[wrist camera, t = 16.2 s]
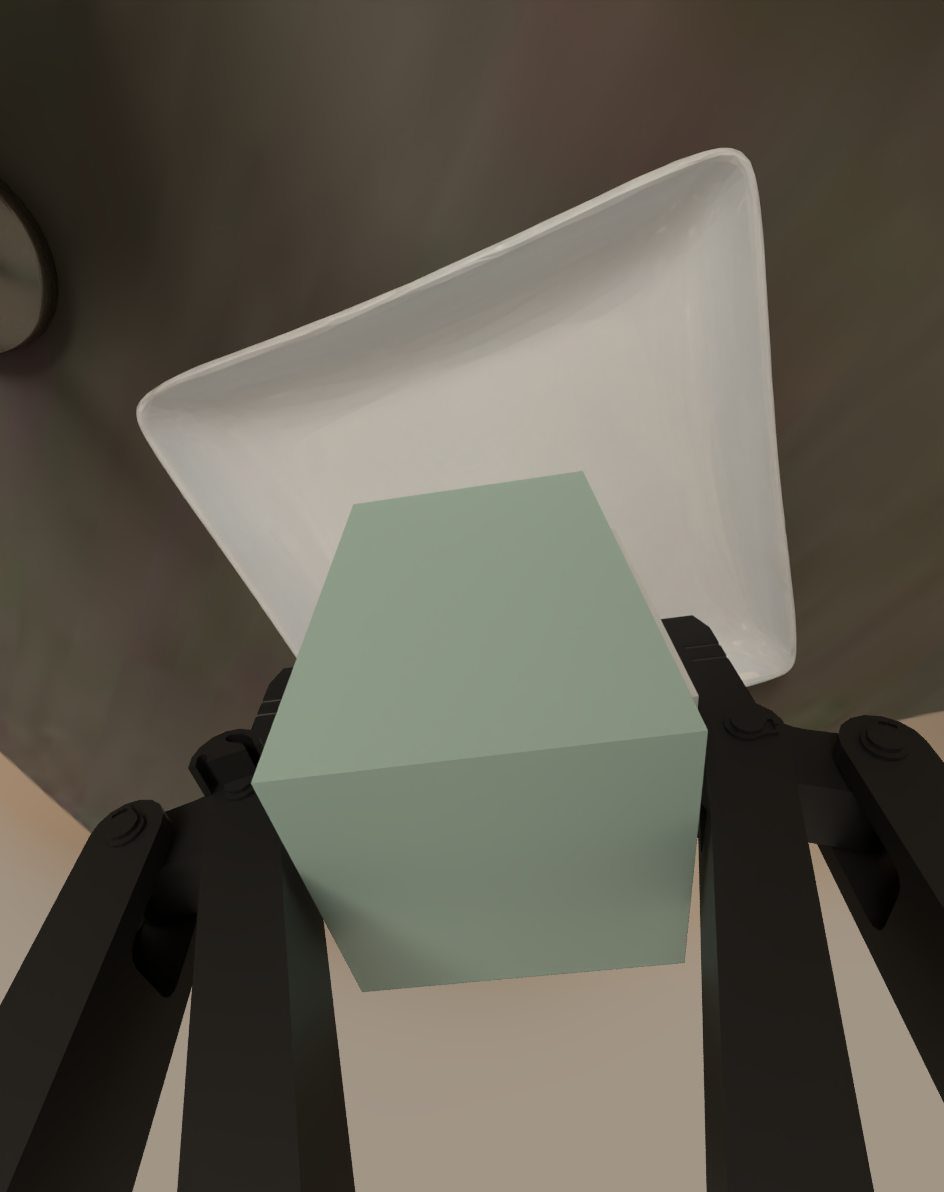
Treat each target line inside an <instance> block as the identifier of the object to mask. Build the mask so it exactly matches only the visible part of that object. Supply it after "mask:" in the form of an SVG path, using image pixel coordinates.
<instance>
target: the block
mask: <svg viewBox="0 0 944 1192" xmlns="http://www.w3.org/2000/svg"><path fill="white" fill-rule="evenodd" d="M707 735H708V730H707V728H706V725H705V723H704V721H703V719H702V717H701V715H700V713H699V711H698V709H697V707H696V705H695V703H694V701H693V699H692V696H691V694H690V692H689V690H688V688H687V686H686V684H685V682H684V680H683V678H682V676H681V674H680V672H679V669H678V667H677V665H676V663H675V661H674V659H673V657H672V655H671V653H670V651H669V649H668V647H667V645H666V642H665V640H664V638H663V636H662V634H661V632H660V630H659V628H658V626H657V624H656V622H655V620H654V618H653V615H652V613H651V611H650V609H649V607H648V605H647V603H646V601H645V599H644V597H643V595H642V593H641V591H640V588H639V586H638V584H637V582H636V580H635V578H634V576H633V574H632V572H631V570H630V568H629V566H628V564H627V562H626V559H625V557H624V555H623V553H622V551H621V549H620V547H619V545H618V543H617V541H616V539H615V537H614V535H613V532H612V530H611V528H610V526H609V524H608V522H607V520H606V518H605V516H604V514H603V512H602V510H601V508H600V505H599V503H598V501H597V499H596V497H595V495H594V493H593V491H592V489H591V487H590V485H589V483H588V481H587V478H586V476H585V474H584V472H583V471H578V472H571V473H565V474H558V475H551V476H544V477H537V478H530V479H523V480H517V481H510V482H503V483H496V484H489V485H482V486H475V487H468V488H462V489H455V490H448V491H441V492H434V493H427V494H420V495H414V496H407V497H400V498H393V499H386V500H379V501H372V502H366V503H359V504H353V507H352V509H351V512H350V515H349V518H348V520H347V523H346V526H345V528H344V531H343V534H342V537H341V539H340V542H339V545H338V548H337V550H336V553H335V556H334V558H333V561H332V564H331V567H330V569H329V572H328V575H327V578H326V580H325V583H324V586H323V588H322V591H321V594H320V597H319V599H318V602H317V605H316V607H315V610H314V613H313V616H312V618H311V621H310V624H309V627H308V629H307V632H306V635H305V637H304V640H303V643H302V646H301V648H300V651H299V654H298V656H297V659H296V662H295V665H294V667H293V670H292V673H291V676H290V678H289V681H288V684H287V686H286V689H285V692H284V695H283V697H282V700H281V703H280V705H279V708H278V711H277V714H276V716H275V719H274V722H273V725H272V727H271V730H270V733H269V735H268V738H267V741H266V744H265V746H264V749H263V752H262V755H261V757H260V760H259V763H258V765H257V768H256V771H255V774H254V776H253V779H252V782H251V784H252V786H253V788H254V790H255V792H256V794H257V796H258V798H259V799H260V801H261V803H262V805H263V807H264V809H265V811H266V813H267V814H268V816H269V818H270V820H271V822H272V824H273V826H274V828H275V829H276V831H277V833H278V835H279V837H280V839H281V841H282V843H283V844H284V846H285V848H286V850H287V852H288V854H289V856H290V858H291V859H292V861H293V863H294V865H295V867H296V869H297V871H298V873H299V874H300V876H301V878H302V880H303V882H304V884H305V886H306V888H307V889H308V891H309V893H310V895H311V897H312V899H313V901H314V903H315V904H316V906H317V908H318V910H319V912H320V914H321V916H322V918H323V919H324V921H325V923H326V925H327V927H328V929H329V931H330V932H331V934H332V936H333V938H334V940H335V942H336V944H337V946H338V948H339V949H340V951H341V953H342V955H343V957H344V959H345V961H346V963H347V964H348V966H349V968H350V970H351V972H352V974H353V976H354V977H355V979H356V981H357V983H358V985H359V987H360V989H361V991H362V992H368V991H379V990H390V989H401V988H412V987H423V986H434V985H446V984H456V983H467V982H478V981H490V980H501V979H512V978H523V977H533V976H544V975H556V974H567V973H577V972H589V971H600V970H611V969H622V968H633V967H644V966H656V965H666V964H677V963H684V962H685V952H686V943H687V933H688V922H689V913H690V903H691V893H692V883H693V873H694V863H695V853H696V844H697V834H698V824H699V814H700V804H701V794H702V784H703V774H704V765H705V755H706V745H707Z"/></svg>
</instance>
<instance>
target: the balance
mask: <svg viewBox="0 0 944 1192" xmlns="http://www.w3.org/2000/svg"><path fill="white" fill-rule="evenodd" d="M57 296H58V283H57V275H56V269H55V265H54V261H53V258H52V254H51V252H50V249H49V247H48V244H47V242H46V239H45V237H44V236H43V234H42V232H41V230H40V228H39V226H38V224H37V223H36V221H35V220H34V218H33V217H32V215H31V214H30V212H29V211H28V210H27V208H26V207H25V206H24V204H23V203H22V202H21V201H20V199H19V198H18V197H17V196H16V195H15V194H14V193H13V192H12V191H11V190H10V188H9V187H8V186H6V185H5V184H4V183H3V182H2V181H1V180H0V353H2V352H5V351H9V350H12V349H15V348H18V347H22V346H24V345H26V344H29V343H31V342H32V341H34V340H35V339H37V338H38V337H39V336H40V335H41V334H42V333H43V332H44V331H45V330H46V328H47V327H48V325H49V324H50V322H51V320H52V318H53V315H54V313H55V309H56V305H57Z"/></svg>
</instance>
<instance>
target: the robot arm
mask: <svg viewBox="0 0 944 1192" xmlns="http://www.w3.org/2000/svg"><path fill="white" fill-rule="evenodd" d="M611 530H612V532H613V535H614V537H615V539H616V541H617V543H618V545H619V547H620V549H621V551H622V553H623V555H624V557H625V559H626V562H627V564H628V566H629V568H630V570H631V572H632V574H633V576H634V578H635V580H636V582H637V584H638V586H639V588H640V591H641V593H642V595H643V597H644V599H645V601H646V603H647V605H648V607H649V609H650V611H651V613H652V615H653V618H654V620H655V622H656V624H657V626H658V628H659V630H660V632H661V634H662V636H663V638H664V640H665V642H666V645H667V647H668V649H669V651H670V653H671V655H672V657H673V659H674V661H675V663H676V665H677V667H678V669H679V672H680V674H681V676H682V678H683V680H684V682H685V684H686V686H687V688H688V690H689V692H690V694H691V696H692V699H693V701H694V703H695V705H696V707H697V709H698V711H699V713H700V715H701V717H702V719H703V721H704V723H705V725H706V728H707V730H708V735H707V745H706V755H705V765H704V774H703V784H702V794H701V804H700V814H699V824H698V834H697V838H698V841H699V882H700V883H699V884H700V927H701V967H702V968H701V970H702V1007H703V1008H702V1011H703V1054H704V1091H705V1092H704V1095H705V1096H704V1097H705V1135H706V1136H705V1140H706V1183H707V1192H874V1189H873V1183H872V1178H871V1173H870V1168H869V1163H868V1157H867V1152H866V1146H865V1141H864V1136H863V1131H862V1125H861V1120H860V1115H859V1109H858V1104H857V1099H856V1093H855V1088H854V1083H853V1077H852V1073H851V1067H850V1062H849V1056H848V1051H847V1045H846V1040H845V1035H844V1029H843V1025H842V1019H841V1014H840V1008H839V1003H838V998H837V993H836V987H835V982H834V976H833V971H832V966H831V960H830V955H829V950H828V945H827V939H826V934H825V929H824V923H823V918H822V913H821V907H820V902H819V897H818V892H817V886H816V881H815V875H814V870H813V865H812V860H811V855H810V849H809V844H808V842H809V843H815V844H817V845H818V847H819V849H820V851H821V853H822V855H823V857H824V859H825V861H826V863H827V865H828V867H829V869H830V871H831V873H832V875H833V877H834V880H835V882H836V884H837V885H838V888H839V889H840V892H841V894H842V896H843V898H844V900H845V902H846V904H847V906H848V908H849V910H850V912H851V914H852V916H853V918H854V920H855V922H856V924H857V926H858V928H859V931H860V933H861V935H862V937H863V939H864V941H865V943H866V945H867V947H868V949H869V951H870V953H871V955H872V957H873V959H874V961H875V963H876V965H877V967H878V969H879V971H880V973H881V976H882V977H883V979H884V981H885V984H886V986H887V988H888V990H889V992H890V994H891V996H892V998H893V1000H894V1002H895V1004H896V1006H897V1008H898V1010H899V1012H900V1014H901V1016H902V1018H903V1020H904V1022H905V1025H906V1027H907V1028H908V1030H909V1032H910V1034H911V1037H912V1039H913V1041H914V1043H915V1045H916V1047H917V1049H918V1051H919V1053H920V1055H921V1057H922V1059H923V1061H924V1063H925V1065H926V1067H927V1069H928V1072H929V1074H930V1076H931V1078H932V1080H933V1082H934V1084H935V1086H936V1088H937V1090H938V1092H939V1094H940V1096H941V1098H942V1100H943V1102H944V762H943V761H942V760H941V758H940V757H939V756H938V755H937V753H936V752H935V751H934V750H933V748H932V747H931V746H930V745H929V743H928V742H927V741H926V740H925V739H924V738H923V737H922V736H921V735H920V734H918V733H917V732H916V731H915V730H914V729H912V728H910V727H908V726H906V725H904V724H902V723H901V722H899V721H896V720H892V719H889V718H885V717H882V716H868V715H863V716H858V717H854V718H850V719H849V720H847V721H846V722H845V723H843V724H842V725H841V728H840V731H839V734H838V733H830V732H822V731H814V730H806V729H801V728H796V727H792V726H789V725H786V724H784V723H783V721H782V720H781V719H780V718H779V717H778V716H777V715H776V714H775V713H774V712H773V711H771V710H769V709H767V708H765V707H763V706H761V705H759V704H756V703H755V701H754V699H753V698H752V696H751V694H750V693H749V691H748V689H747V688H746V686H745V685H744V683H743V681H742V680H741V678H740V676H739V675H738V673H737V671H736V670H735V668H734V666H733V665H732V663H731V662H730V660H729V658H727V657H726V653H725V652H724V650H723V648H722V647H721V645H719V642H718V640H717V638H716V637H715V635H714V634H713V632H712V630H711V629H710V627H709V626H707V625H706V624H704V623H703V622H702V621H700V620H699V619H697V618H696V617H694V616H693V615H689V616H681V617H674V618H666V619H660V617H659V615H658V613H657V611H656V609H655V607H654V605H653V603H652V601H651V599H650V597H649V595H648V593H647V591H646V589H645V587H644V585H643V583H642V581H641V579H640V577H639V575H638V573H637V571H636V569H635V567H634V565H633V563H632V561H631V559H630V557H629V555H628V553H627V551H626V549H625V547H624V545H623V543H622V541H621V539H620V537H619V535H618V533H617V531H616V529H615V528H611ZM292 670H293V667H292V668H284V669H283V670H282V671H281V672H280V673H279V674H278V675H277V676H276V677H275V678H274V680H273V681H272V682H271V683H270V684H269V686H268V689H267V691H266V694H265V696H264V699H263V703H262V704H261V706H260V709H259V711H258V717H256V718H255V721H254V723H253V726H252V728H251V730H245V729H237V730H232V731H227V732H224V733H222V734H220V735H218V736H215V737H213V738H212V739H210V740H209V741H208V742H206V743H205V744H204V745H202V746H201V747H200V748H199V749H198V751H197V752H196V753H195V754H194V756H193V757H192V759H191V762H190V764H189V767H188V769H189V770H190V772H191V774H192V775H193V777H194V779H195V780H196V782H197V784H198V785H199V787H200V789H201V790H202V792H203V794H204V795H205V796H204V797H202V798H200V799H198V800H196V801H193V802H190V803H188V804H185V805H182V806H180V807H177V808H174V809H172V810H169V811H166V812H165V811H164V810H163V808H162V807H161V805H160V804H158V803H156V802H155V801H153V800H138V801H134V802H131V803H128V804H125V805H123V806H122V807H120V808H118V809H116V810H115V811H113V812H111V813H110V814H109V815H108V816H107V817H106V818H104V819H103V820H102V821H101V822H100V823H99V824H98V825H97V827H96V828H95V829H94V831H93V832H92V834H91V835H90V837H89V838H88V841H87V842H86V844H85V846H84V848H83V850H82V852H81V854H80V856H79V857H78V859H77V861H76V863H75V865H74V867H73V869H72V871H71V872H70V874H69V876H68V878H67V880H66V882H65V884H64V886H63V888H62V890H61V891H60V893H59V895H58V897H57V899H56V901H55V903H54V905H53V907H52V908H51V910H50V912H49V914H48V916H47V918H46V920H45V922H44V924H43V925H42V927H41V930H40V931H39V933H38V935H37V937H36V939H35V941H34V942H33V944H32V946H31V948H30V950H29V952H28V954H27V956H26V958H25V960H24V961H23V963H22V965H21V967H20V969H19V971H18V973H17V975H16V977H15V978H14V981H13V982H12V984H11V986H10V988H9V990H8V992H7V994H6V995H5V998H4V999H3V1001H2V1003H1V1005H0V1192H132V1190H133V1187H134V1184H135V1180H136V1176H137V1173H138V1170H139V1166H140V1163H141V1160H142V1156H143V1152H144V1149H145V1146H146V1142H147V1139H148V1135H149V1132H150V1128H151V1125H152V1121H153V1118H154V1115H155V1111H156V1108H157V1104H158V1101H159V1098H160V1094H161V1091H162V1087H163V1084H164V1080H165V1077H166V1073H167V1070H168V1067H169V1063H170V1060H171V1056H172V1053H173V1049H174V1045H175V1042H176V1039H177V1036H178V1032H179V1029H180V1025H181V1022H182V1018H183V1015H184V1011H185V1008H186V1004H187V1001H188V998H189V994H190V991H191V987H192V996H191V1010H190V1024H189V1038H188V1051H187V1065H186V1079H185V1093H184V1094H185V1095H184V1107H183V1121H182V1134H181V1148H180V1162H179V1175H178V1189H177V1192H355V1186H354V1178H353V1169H352V1160H351V1152H350V1144H349V1134H348V1126H347V1118H346V1110H345V1101H344V1092H343V1083H342V1075H341V1066H340V1058H339V1049H338V1040H337V1032H336V1024H335V1016H334V1007H333V998H332V990H331V980H330V972H329V964H328V955H327V946H326V938H325V929H324V921H323V918H322V916H321V914H320V912H319V910H318V908H317V906H316V904H315V903H314V901H313V899H312V897H311V895H310V893H309V891H308V889H307V888H306V886H305V884H304V882H303V880H302V878H301V876H300V874H299V873H298V871H297V869H296V867H295V865H294V863H293V861H292V859H291V858H290V856H289V854H288V852H287V850H286V848H285V846H284V844H283V843H282V841H281V839H280V837H279V835H278V833H277V831H276V829H275V828H274V826H273V824H272V822H271V820H270V818H269V816H268V814H267V813H266V811H265V809H264V807H263V805H262V803H261V801H260V799H259V798H258V796H257V794H256V792H255V790H254V788H253V786H252V784H251V782H252V779H253V776H254V774H255V771H256V768H257V765H258V763H259V760H260V757H261V755H262V752H263V749H264V746H265V744H266V741H267V738H268V735H269V733H270V730H271V727H272V725H273V722H274V719H275V716H276V714H277V711H278V708H279V705H280V703H281V700H282V697H283V695H284V692H285V689H286V686H287V684H288V681H289V678H290V676H291V673H292Z"/></svg>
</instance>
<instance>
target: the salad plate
mask: <svg viewBox="0 0 944 1192" xmlns="http://www.w3.org/2000/svg"><path fill="white" fill-rule="evenodd" d="M136 416H137V421H138V424H139V426H140V429H141V431H142V433H143V435H144V436H145V438H146V440H147V442H148V443H149V445H150V446H151V448H152V450H153V451H154V453H155V455H156V456H157V458H158V459H159V461H160V462H161V464H162V465H163V467H164V468H165V470H166V471H167V473H168V474H169V476H170V477H171V479H172V480H173V482H174V483H175V485H176V486H177V487H178V489H179V490H180V492H181V493H182V495H183V497H184V498H185V499H186V500H187V502H188V503H189V505H190V506H191V508H192V509H193V511H194V512H195V513H196V515H197V516H198V518H199V519H200V520H201V522H202V523H203V525H204V526H205V527H206V529H207V530H208V532H209V533H210V534H211V536H212V537H213V539H214V540H215V541H216V543H217V544H218V546H219V547H220V549H221V550H222V551H223V553H224V554H225V556H226V557H227V558H228V560H229V561H230V563H231V564H232V565H233V567H234V568H235V570H236V571H237V573H238V574H239V575H240V577H241V578H242V580H243V581H244V583H245V584H246V585H247V587H248V588H249V590H250V591H251V592H252V594H253V595H254V597H255V598H256V600H257V601H258V603H259V604H260V605H261V607H262V608H263V610H264V611H265V613H266V614H267V616H268V617H269V619H270V620H271V621H272V623H273V624H274V626H275V627H276V629H277V630H278V632H279V633H280V635H281V636H282V637H283V639H284V640H285V642H286V643H287V645H288V646H289V648H290V649H291V651H292V652H293V654H294V655H295V657H296V658H297V656H298V654H299V651H300V648H301V646H302V643H303V640H304V637H305V635H306V632H307V629H308V627H309V624H310V621H311V618H312V616H313V613H314V610H315V607H316V605H317V602H318V599H319V597H320V594H321V591H322V588H323V586H324V583H325V580H326V578H327V575H328V572H329V569H330V567H331V564H332V561H333V558H334V556H335V553H336V550H337V548H338V545H339V542H340V539H341V537H342V534H343V531H344V528H345V526H346V523H347V520H348V518H349V515H350V512H351V509H352V507H353V504H359V503H366V502H372V501H379V500H386V499H393V498H400V497H407V496H414V495H420V494H427V493H434V492H441V491H448V490H455V489H462V488H468V487H475V486H482V485H489V484H496V483H503V482H510V481H517V480H523V479H530V478H537V477H544V476H551V475H558V474H565V473H571V472H578V471H583V472H584V474H585V476H586V478H587V481H588V483H589V485H590V487H591V489H592V491H593V493H594V495H595V497H596V499H597V501H598V503H599V505H600V508H601V510H602V512H603V514H604V516H605V518H606V520H607V522H608V524H609V526H610V528H615V529H616V531H617V533H618V535H619V537H620V539H621V541H622V543H623V545H624V547H625V549H626V551H627V553H628V555H629V557H630V559H631V561H632V563H633V565H634V567H635V569H636V571H637V573H638V575H639V577H640V579H641V581H642V583H643V585H644V587H645V589H646V591H647V593H648V595H649V597H650V599H651V601H652V603H653V605H654V607H655V609H656V611H657V613H658V615H659V617H660V619H666V618H674V617H681V616H689V615H693V616H694V617H696V618H697V619H699V620H700V621H702V622H703V623H704V624H706V625H707V626H709V627H710V629H711V630H712V632H713V634H714V635H715V637H716V638H717V640H718V642H719V645H721V647H722V648H723V650H724V652H725V653H726V657H727V658H729V660H730V662H731V663H732V665H733V666H734V668H735V670H736V671H737V673H738V675H739V676H740V678H741V680H742V681H743V683H744V685H745V686H746V687H748V686H752V685H755V684H759V683H762V682H765V681H768V680H771V679H774V678H776V677H779V676H781V675H783V674H786V673H787V672H788V671H789V670H790V669H791V668H792V667H793V665H794V662H795V658H796V619H795V607H794V599H793V589H792V580H791V572H790V562H789V553H788V544H787V536H786V529H785V518H784V510H783V502H782V493H781V483H780V473H779V462H778V452H777V439H776V426H775V410H774V395H773V385H772V369H771V348H770V332H769V318H768V303H767V286H766V269H765V252H764V237H763V227H762V218H761V208H760V199H759V192H758V187H757V182H756V177H755V174H754V171H753V168H752V165H751V162H750V161H749V160H748V158H747V157H746V156H745V155H744V154H743V153H742V152H741V151H738V150H735V149H733V148H717V149H712V150H708V151H704V152H701V153H698V154H695V155H692V156H689V157H686V158H683V159H680V160H677V161H674V162H672V163H670V164H668V165H666V166H663V167H661V168H659V169H656V170H654V171H651V172H649V173H647V174H644V175H642V176H640V177H637V178H635V179H633V180H631V181H629V182H627V183H624V184H622V185H620V186H618V187H616V188H614V189H612V190H610V191H608V192H606V193H604V194H602V195H600V196H598V197H596V198H593V199H591V200H589V201H587V202H585V203H582V204H580V205H578V206H576V207H574V208H572V209H570V210H567V211H565V212H563V213H561V214H559V215H557V216H554V217H552V218H550V219H548V220H546V221H544V222H542V223H540V224H537V225H535V226H533V227H531V228H529V229H527V230H525V231H523V232H520V233H518V234H516V235H514V236H512V237H510V238H507V239H505V240H503V241H501V242H499V243H496V244H494V245H492V246H490V247H488V248H485V249H483V250H481V251H479V252H477V253H474V254H472V255H470V256H468V257H466V258H463V259H461V260H459V261H457V262H455V263H452V264H450V265H448V266H446V267H444V268H441V269H439V270H437V271H435V272H433V273H431V274H428V275H426V276H424V277H422V278H420V279H418V280H416V281H413V282H411V283H409V284H406V285H404V286H401V287H399V288H397V289H394V290H392V291H389V292H387V293H384V294H382V295H380V296H377V297H375V298H373V299H370V300H368V301H365V302H363V303H360V304H358V305H356V306H353V307H351V308H348V309H346V310H343V311H341V312H338V313H336V314H334V315H331V316H329V317H326V318H323V319H320V320H318V321H315V322H313V323H310V324H308V325H305V326H303V327H300V328H298V329H295V330H293V331H290V332H288V333H285V334H282V335H280V336H277V337H274V338H272V339H269V340H266V341H264V342H261V343H258V344H256V345H253V346H250V347H248V348H245V349H242V350H240V351H237V352H234V353H232V354H229V355H226V356H224V357H221V358H218V359H215V360H213V361H210V362H207V363H205V364H202V365H199V366H197V367H195V368H192V369H190V370H188V371H186V372H184V373H182V374H180V375H177V376H175V377H173V378H171V379H169V380H167V381H165V382H164V383H162V384H161V385H159V386H157V387H156V388H154V389H153V390H151V391H150V392H149V393H147V394H146V395H145V396H144V398H143V399H142V400H141V401H140V402H139V404H138V406H137V414H136Z"/></svg>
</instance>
